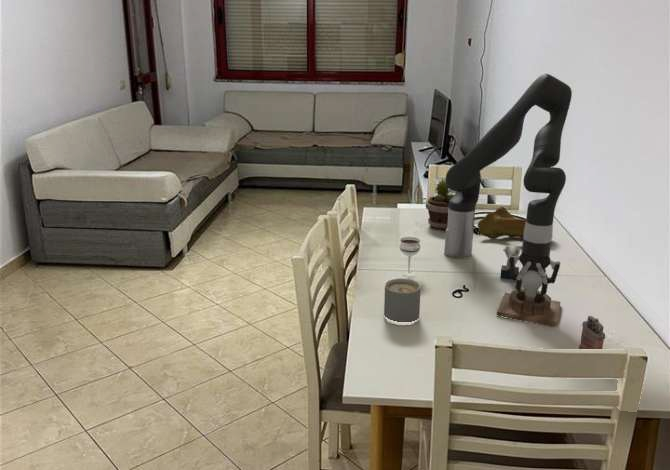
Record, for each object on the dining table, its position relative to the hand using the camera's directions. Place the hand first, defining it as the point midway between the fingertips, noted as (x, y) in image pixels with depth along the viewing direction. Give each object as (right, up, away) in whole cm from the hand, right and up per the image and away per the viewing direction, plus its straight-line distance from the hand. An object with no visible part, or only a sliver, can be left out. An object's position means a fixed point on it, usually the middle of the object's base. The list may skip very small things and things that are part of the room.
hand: (530, 292), depth 170 cm
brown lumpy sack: (+8, -14, -21) cm, 26 cm away
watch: (+1, +2, +25) cm, 25 cm away
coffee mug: (-37, -7, 0) cm, 38 cm away
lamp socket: (0, -6, +2) cm, 6 cm away
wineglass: (-32, +3, +28) cm, 42 cm away
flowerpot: (-12, +20, +74) cm, 78 cm away
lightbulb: (0, -3, +1) cm, 4 cm away
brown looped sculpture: (+13, +15, +61) cm, 64 cm away
